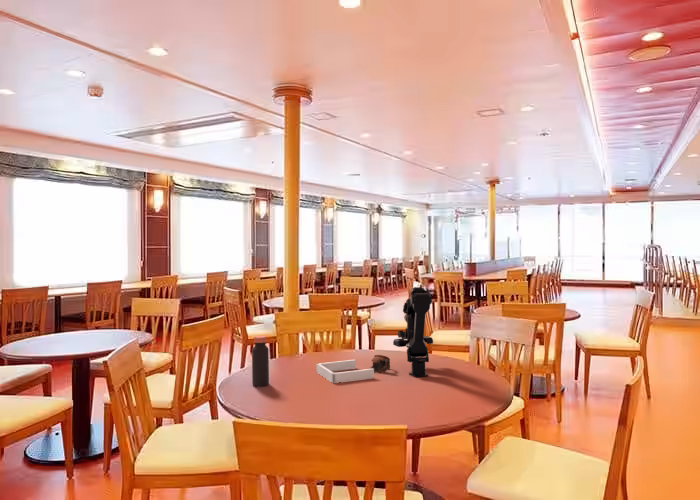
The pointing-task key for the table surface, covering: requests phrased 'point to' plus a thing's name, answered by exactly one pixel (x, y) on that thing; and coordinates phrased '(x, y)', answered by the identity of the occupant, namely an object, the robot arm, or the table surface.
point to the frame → (328, 367)
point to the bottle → (260, 362)
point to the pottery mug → (380, 363)
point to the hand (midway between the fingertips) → (413, 359)
